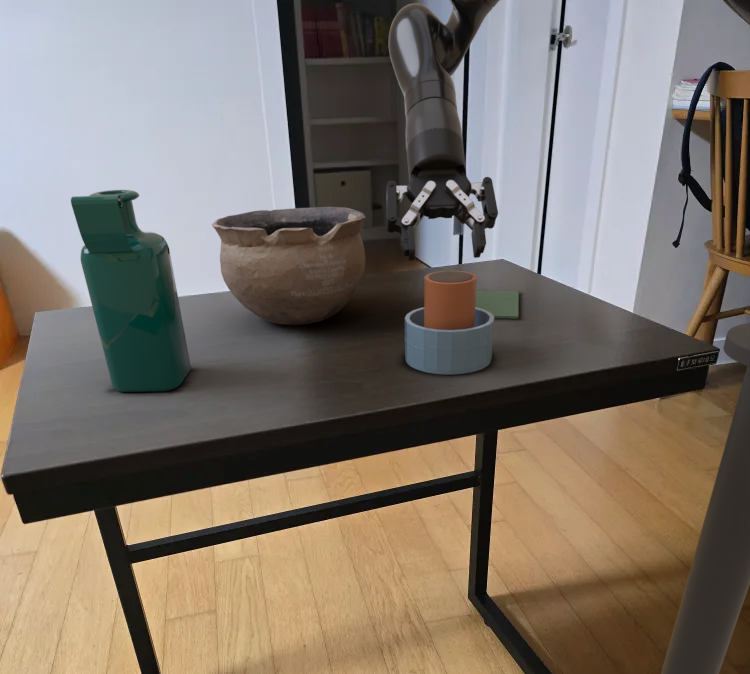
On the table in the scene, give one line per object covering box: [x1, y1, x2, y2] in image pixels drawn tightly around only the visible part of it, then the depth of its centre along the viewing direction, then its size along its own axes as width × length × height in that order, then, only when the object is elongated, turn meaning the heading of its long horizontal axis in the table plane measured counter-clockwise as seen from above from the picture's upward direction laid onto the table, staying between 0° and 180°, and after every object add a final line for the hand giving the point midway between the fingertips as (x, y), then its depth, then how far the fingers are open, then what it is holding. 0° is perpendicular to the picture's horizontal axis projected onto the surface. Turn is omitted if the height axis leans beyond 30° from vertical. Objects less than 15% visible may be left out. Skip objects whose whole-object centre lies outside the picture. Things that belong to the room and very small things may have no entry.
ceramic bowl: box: [211, 206, 366, 326], centre depth 101 cm, size 22×22×15 cm
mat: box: [475, 290, 520, 320], centre depth 108 cm, size 14×14×1 cm
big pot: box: [404, 306, 495, 376], centre depth 86 cm, size 11×11×6 cm
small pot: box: [423, 270, 478, 330], centre depth 85 cm, size 6×6×10 cm
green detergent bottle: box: [70, 189, 192, 393], centre depth 78 cm, size 10×8×22 cm
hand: (445, 255), depth 85 cm, fingers open, 8 cm apart
